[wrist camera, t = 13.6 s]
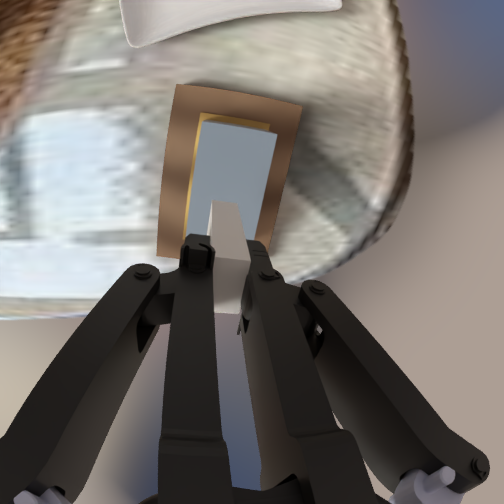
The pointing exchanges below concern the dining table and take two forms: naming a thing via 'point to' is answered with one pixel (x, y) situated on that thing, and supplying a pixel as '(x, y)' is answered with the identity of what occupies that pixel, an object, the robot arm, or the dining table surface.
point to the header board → (185, 149)
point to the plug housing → (230, 173)
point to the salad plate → (200, 15)
